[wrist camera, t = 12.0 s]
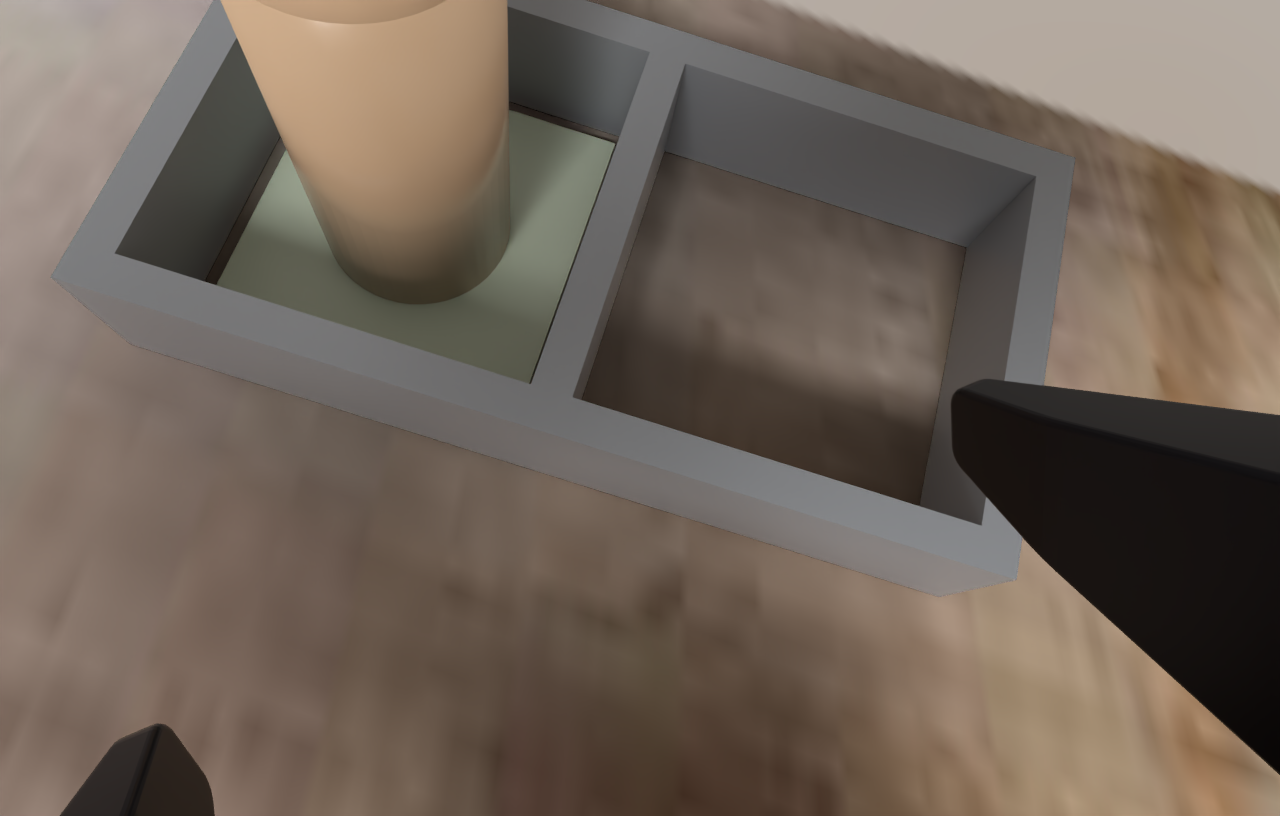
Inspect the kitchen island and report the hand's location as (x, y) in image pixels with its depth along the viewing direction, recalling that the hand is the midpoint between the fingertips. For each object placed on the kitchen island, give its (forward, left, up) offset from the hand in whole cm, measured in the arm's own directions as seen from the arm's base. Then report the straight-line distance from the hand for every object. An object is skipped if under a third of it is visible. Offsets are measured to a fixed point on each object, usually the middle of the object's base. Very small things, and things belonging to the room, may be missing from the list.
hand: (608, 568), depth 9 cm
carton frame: (+10, +2, -14) cm, 17 cm away
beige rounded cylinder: (+10, +8, -13) cm, 18 cm away
